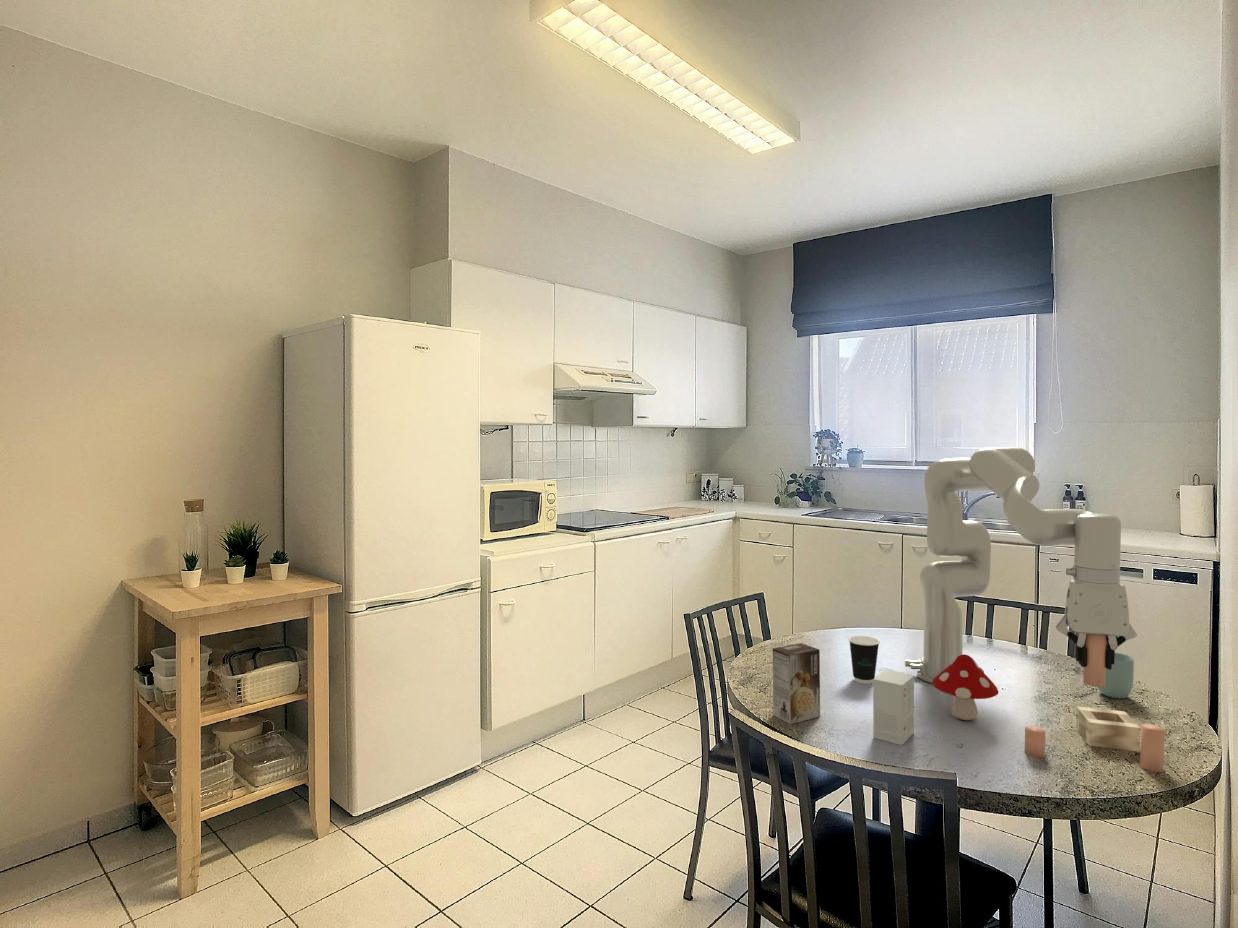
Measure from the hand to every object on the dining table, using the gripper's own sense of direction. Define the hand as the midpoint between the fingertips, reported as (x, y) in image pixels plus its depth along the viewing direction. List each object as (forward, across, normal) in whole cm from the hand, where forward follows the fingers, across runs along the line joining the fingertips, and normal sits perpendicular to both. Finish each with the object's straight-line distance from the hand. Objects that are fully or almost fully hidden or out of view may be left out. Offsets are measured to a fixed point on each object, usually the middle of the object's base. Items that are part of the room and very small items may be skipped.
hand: (1094, 665), depth 139 cm
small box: (+19, -38, -2) cm, 42 cm away
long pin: (+4, 0, 0) cm, 4 cm away
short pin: (+19, -10, -1) cm, 22 cm away
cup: (+19, +15, +41) cm, 48 cm away
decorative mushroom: (+19, -22, +14) cm, 32 cm away
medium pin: (+19, +10, -1) cm, 21 cm away
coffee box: (+19, -58, +2) cm, 62 cm away
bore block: (+19, +5, +11) cm, 23 cm away
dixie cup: (+19, -44, +32) cm, 58 cm away
